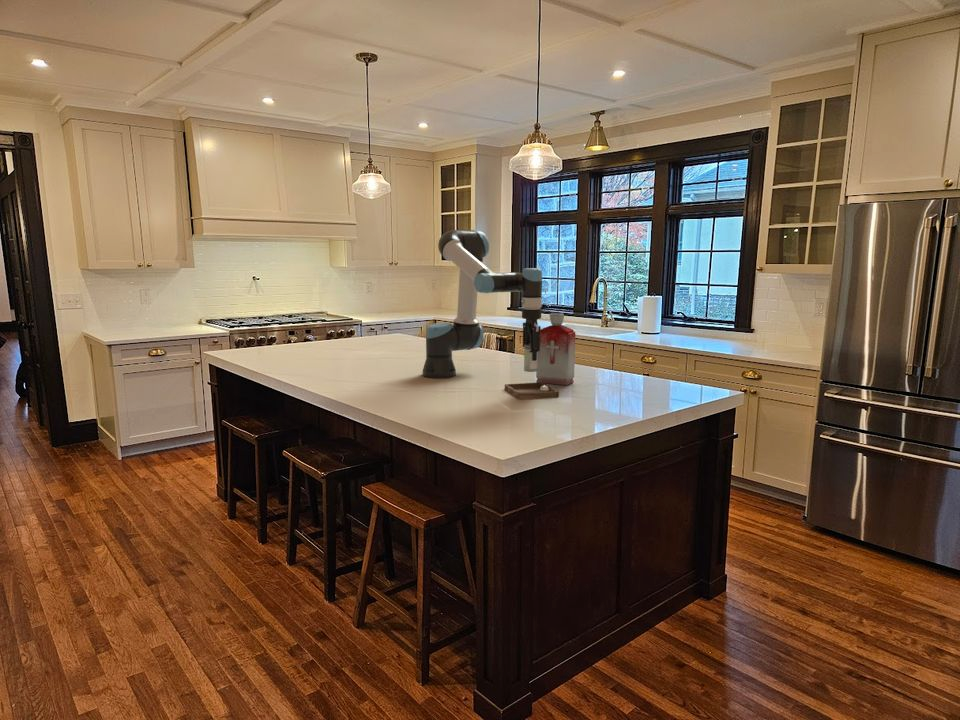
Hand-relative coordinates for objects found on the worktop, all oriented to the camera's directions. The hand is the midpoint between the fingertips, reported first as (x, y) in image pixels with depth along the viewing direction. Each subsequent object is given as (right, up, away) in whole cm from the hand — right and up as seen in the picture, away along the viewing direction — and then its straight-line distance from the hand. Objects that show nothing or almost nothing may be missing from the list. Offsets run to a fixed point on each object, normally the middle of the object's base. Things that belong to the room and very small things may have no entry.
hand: (530, 367), depth 246 cm
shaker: (0, -1, 0) cm, 1 cm away
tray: (0, -11, +1) cm, 11 cm away
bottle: (+12, -7, +21) cm, 25 cm away
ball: (+5, -11, -2) cm, 12 cm away
